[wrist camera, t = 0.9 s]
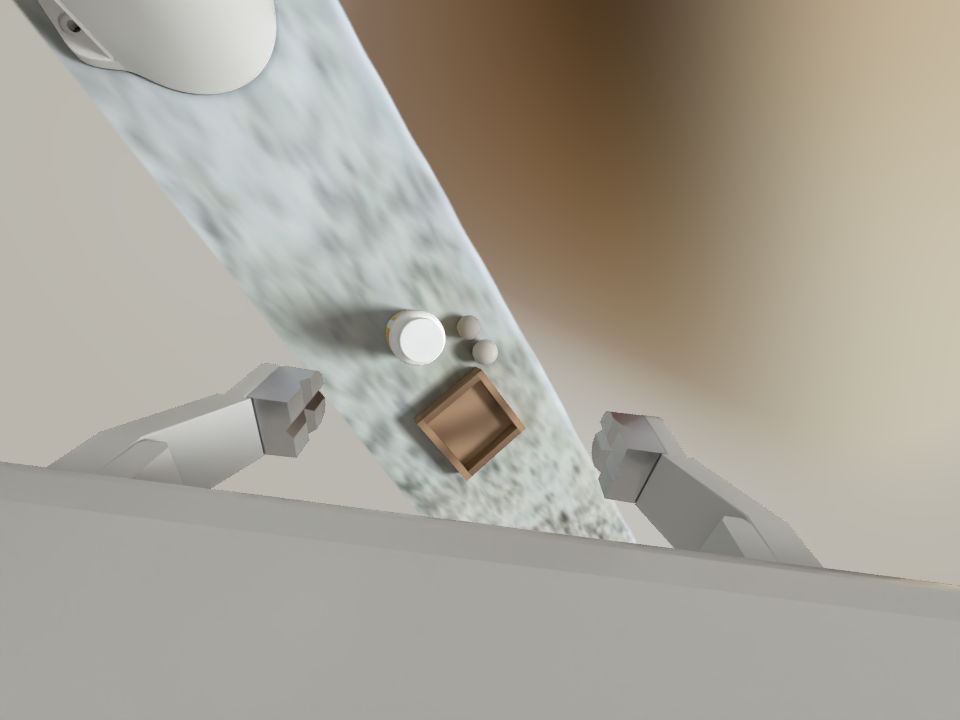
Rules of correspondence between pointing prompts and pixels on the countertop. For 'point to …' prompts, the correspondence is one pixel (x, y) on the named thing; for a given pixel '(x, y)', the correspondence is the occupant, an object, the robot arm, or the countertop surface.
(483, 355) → the pebble
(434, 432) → the tray
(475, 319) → the pebble
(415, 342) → the supplement bottle
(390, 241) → the countertop surface
